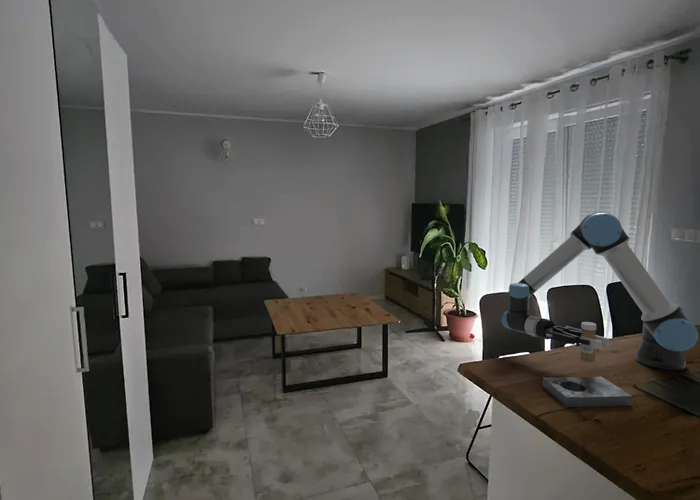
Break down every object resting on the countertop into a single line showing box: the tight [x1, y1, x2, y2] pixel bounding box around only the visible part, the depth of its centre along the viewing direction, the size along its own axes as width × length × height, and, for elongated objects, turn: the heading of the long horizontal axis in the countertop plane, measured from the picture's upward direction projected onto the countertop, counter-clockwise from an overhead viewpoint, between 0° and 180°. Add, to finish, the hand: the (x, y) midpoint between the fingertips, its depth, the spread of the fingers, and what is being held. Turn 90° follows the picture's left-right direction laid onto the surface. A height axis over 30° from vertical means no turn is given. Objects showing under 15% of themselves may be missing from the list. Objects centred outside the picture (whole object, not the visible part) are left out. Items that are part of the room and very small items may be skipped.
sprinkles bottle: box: [580, 321, 597, 364], centre depth 137 cm, size 5×5×14 cm
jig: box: [542, 376, 633, 408], centre depth 125 cm, size 20×14×3 cm
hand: (604, 343), depth 132 cm, fingers closed on sprinkles bottle, 4 cm apart
